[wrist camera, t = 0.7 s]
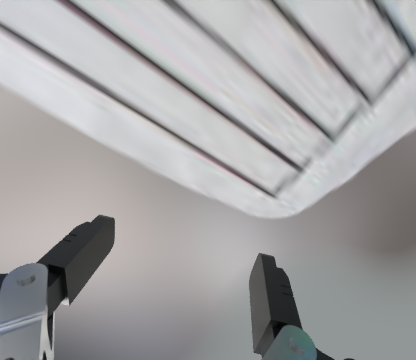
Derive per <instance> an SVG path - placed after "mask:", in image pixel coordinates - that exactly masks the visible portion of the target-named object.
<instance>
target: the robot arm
mask: <svg viewBox="0 0 416 360" xmlns="http://www.w3.org/2000/svg"><path fill="white" fill-rule="evenodd" d="M114 235H115V220H114V218H111V217H108V216H103V215H99V216H97V217H96V218H95V219H94V220H93V221H92V222H91V223H90V222H85V223H83V224H81V225H79V226H77V227H76V228H74V229H73V230H72V231H71V232H70V233H69V235H67V236H65V238H63V240H62V241H60V242H59V243H58V244H57V245H55V246H54V247H53V248H52V249H51V250H50V251H49V252H48V253H47V254H45V255H44V256H43V257H42V258H41V259H40V260H39V261H38V262H36V263H31V264H26V265H23V266H20V267H18V268H16V269H14V270H13V271H11V272H10V273H9V274H0V360H54V323H55V310H56V308H57V307H58V306H59V304H64V305H68V306H70V304H71V303H72V302H73V300H74V299H75V298H76V296H77V295H78V294H79V292H80V291H81V290H82V288H83V287H84V286H85V284H86V283H87V282H88V280H89V279H90V278H91V276H92V275H93V274H94V272H95V271H96V269H97V268H98V267H99V266H100V264H101V263H102V262H103V260H104V259H105V257H106V256H107V255H108V254H109V252H110V251H111V249H112V247H113V244H114V237H115V236H114ZM249 289H250V303H251V319H252V334H253V349H254V353H257V354H261V355H262V360H334V359H333V358H331V357H329V356H327V355H326V354H324V353H322V352H321V351H319V350H318V349H317V348H316V347H315V345H314V343H313V341H312V339H311V338H310V337H309V336H308V334H307V333H305V332H304V331H303V329H302V326H301V322H300V319H299V315H298V311H297V307H296V304H295V300H294V297H293V293H292V289H291V285H290V282H289V278H288V276H287V275H286V273H285V272H284V271H283V269H282V268H277V267H276V262H275V258H274V257H273V256H270V255H266V254H262V253H259V254H258V256H257V259H256V261H255V264H254V266H253V269H252V271H251V275H250V280H249ZM344 360H354V359H350V358H347V359H344Z"/></svg>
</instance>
